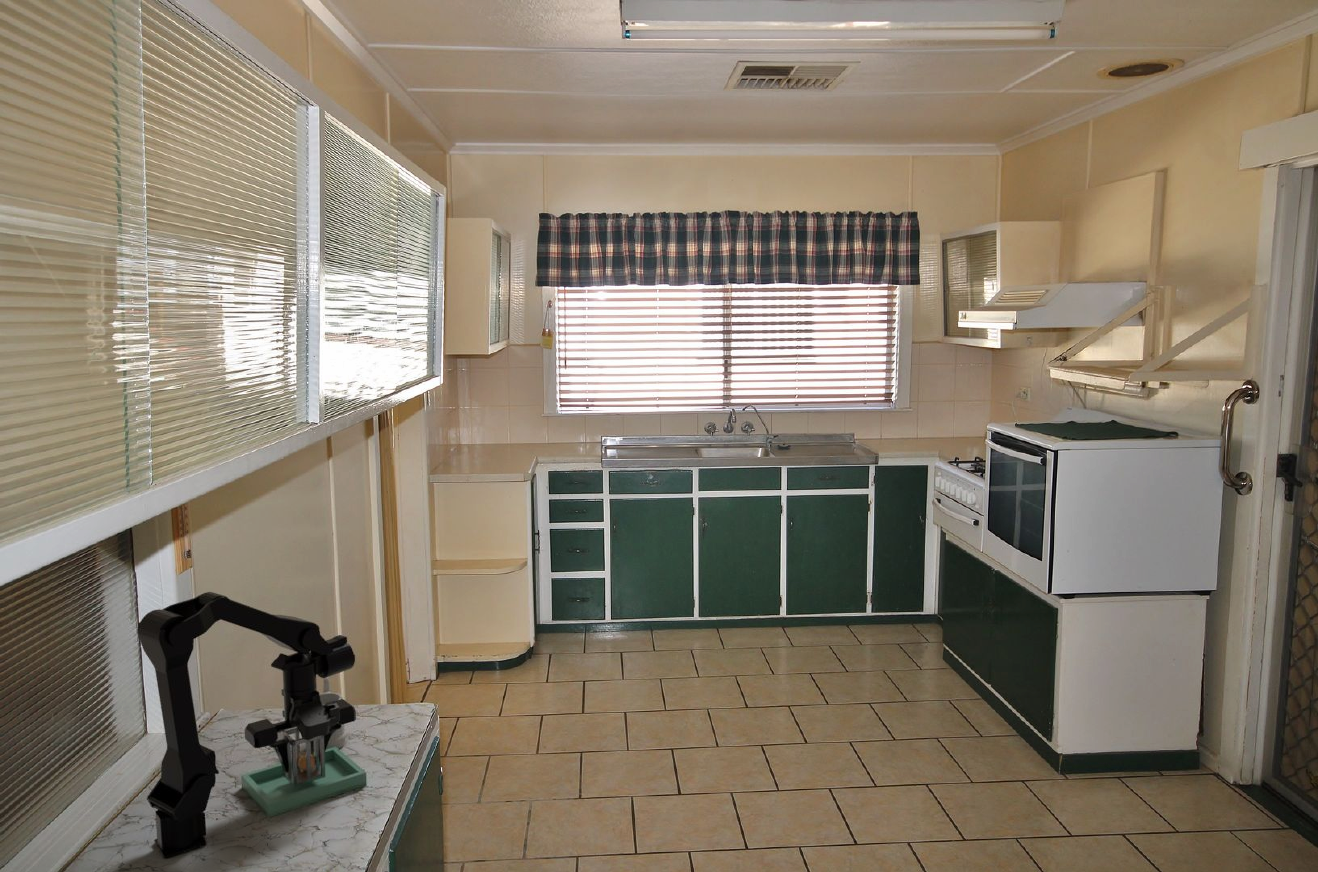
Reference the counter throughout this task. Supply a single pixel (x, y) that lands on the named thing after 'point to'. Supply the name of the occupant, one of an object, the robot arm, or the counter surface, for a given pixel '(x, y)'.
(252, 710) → the counter surface
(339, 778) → the tray
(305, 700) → the robot arm
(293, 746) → the cage
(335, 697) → the mug
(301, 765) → the ball
